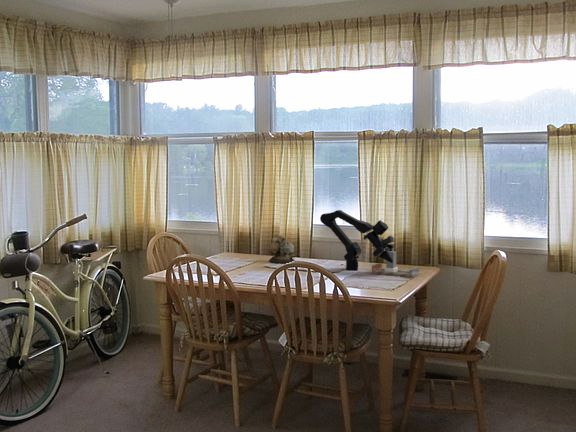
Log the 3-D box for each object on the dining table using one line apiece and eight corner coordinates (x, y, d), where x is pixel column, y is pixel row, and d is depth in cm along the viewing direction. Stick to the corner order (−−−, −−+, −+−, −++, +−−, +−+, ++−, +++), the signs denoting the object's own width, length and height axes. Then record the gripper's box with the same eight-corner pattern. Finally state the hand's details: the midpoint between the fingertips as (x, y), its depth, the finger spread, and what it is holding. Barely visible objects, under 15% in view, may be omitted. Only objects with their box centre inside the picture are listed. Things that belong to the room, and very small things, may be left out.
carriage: (384, 271, 331) (384, 252, 330) (388, 270, 336) (389, 250, 335) (393, 272, 328) (394, 252, 327) (397, 271, 333) (398, 251, 332)
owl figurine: (264, 263, 366) (264, 235, 365) (270, 260, 378) (270, 233, 376) (292, 264, 361) (292, 236, 360) (298, 261, 372) (298, 234, 371)
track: (371, 273, 333) (371, 265, 332) (378, 270, 341) (378, 263, 341) (412, 278, 320) (412, 269, 320) (418, 275, 328) (419, 267, 328)
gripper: (378, 233, 324) (397, 254, 319) (391, 229, 340) (409, 250, 335) (365, 246, 329) (383, 267, 324) (378, 242, 345) (396, 262, 340)
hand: (393, 261), depth 330 cm, fingers closed on carriage, 4 cm apart
